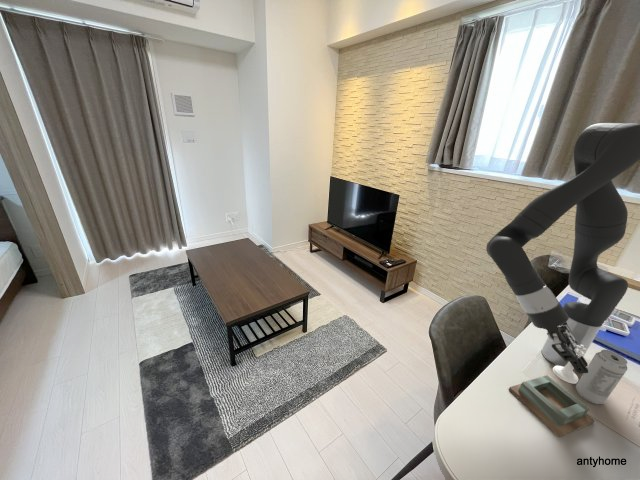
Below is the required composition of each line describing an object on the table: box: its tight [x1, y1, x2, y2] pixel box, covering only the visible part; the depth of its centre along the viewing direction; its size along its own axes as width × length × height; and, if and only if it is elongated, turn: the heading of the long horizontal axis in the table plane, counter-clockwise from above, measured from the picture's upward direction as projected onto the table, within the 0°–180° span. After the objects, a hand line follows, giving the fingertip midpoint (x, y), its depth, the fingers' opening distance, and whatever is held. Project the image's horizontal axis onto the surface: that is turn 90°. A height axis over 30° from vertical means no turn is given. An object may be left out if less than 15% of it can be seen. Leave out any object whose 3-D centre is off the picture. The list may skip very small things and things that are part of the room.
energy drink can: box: [575, 349, 628, 405], centre depth 71 cm, size 6×6×15 cm
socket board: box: [508, 374, 595, 438], centre depth 69 cm, size 13×13×4 cm
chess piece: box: [552, 344, 586, 385], centre depth 64 cm, size 5×5×10 cm
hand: (582, 368), depth 63 cm, fingers closed on chess piece
